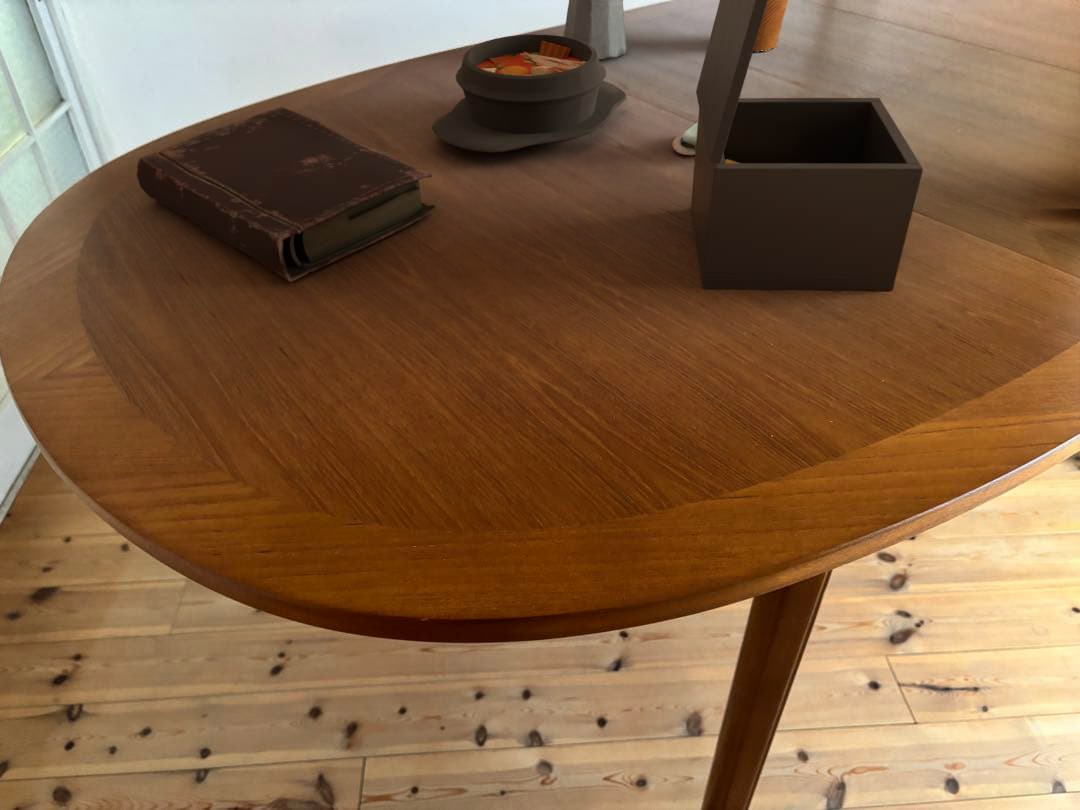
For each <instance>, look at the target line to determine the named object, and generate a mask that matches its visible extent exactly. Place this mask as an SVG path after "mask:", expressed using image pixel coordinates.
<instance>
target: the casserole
mask: <svg viewBox="0 0 1080 810" xmlns="http://www.w3.org/2000/svg"><path fill="white" fill-rule="evenodd" d="M606 76H607V70H606V68H605V66H604V65H603V64H602V63H601V61H600V59H599V58H598V55H597V52H596V50H595V49H594V48H593V47H592V46H591V45H589V44H587V43H585V42H583V41H580V40H577V39H573V38H569V37H564V35H563V36H562V35H554V34H535V33H534V34H530V33H529V34H518V35H516V34H515V35H509V36H502V37H497V38H493V39H490V40H489V39H488V40H486V41H483V42H481V43H478V44H476V45H474V46H472V47H470V48H469V49H468V50H466V52H465V53H464V54H463V58H462V62H461V66H460V67H459V68H458V70H457V71H456V74H455V82H456V83H457V84H458V86H459V87H460V88H461V89H462V91H463V96H464V97H463V98H461V99H460V100H459V102H457V104H455V105H454V107H452V109H451V110H450V111H448V112H447V113H444V115H441V116H440V117H439V118H437V120H435V121H434V122H433V124H432V126H431V130H432V132H433V134H434V135H435V136H437V137H438V138H439V140H442V141H443V142H445V143H447V144H449V145H451V146H455V147H458V148H461V149H464V150H470V151H475V152H480V153H489V154H497V153H507V152H512V151H517V150H520V149H524V148H527V147H532V146H538V145H547V144H553V143H560V142H565V141H570V140H573V139H577V138H581V137H583V136H586V135H588V134H590V133H593V132H595V131H597V130H598V129H601V127H603V126H604V125H606V123H608V122H609V120H610V119H611V117H612V115H613V114H614V112H615V110H616V109H618V107H619V106H621V105H622V103H624V102H625V101H626V100H627V93H625V92H624V91H623V89H621V88H620V87H619V86H616V85H614V84H613V83H610V82H607V81H604V80H605V78H606Z"/></svg>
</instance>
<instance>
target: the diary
mask: <svg viewBox="0 0 1080 810" xmlns="http://www.w3.org/2000/svg"><path fill="white" fill-rule="evenodd" d="M432 177H433V174H432V173H430V172H428V171H425V170H424V169H421V168H418V167H416V166H414V165H411V164H409V163H407V162H404V161H402V160H399V159H398V158H394V157H392V156H390V155H388V154H385V153H383V152H381V151H379V150H376V149H374V148H372V147H370V146H367V145H364V144H362V143H360V142H357V141H355V140H353V139H351V138H349V137H347V136H346V135H344V134H342V133H340V132H338V131H336V130H334V129H332V128H331V127H329V126H327V125H325V124H323V123H321V122H319V121H317V120H315V119H312V118H311V117H308V116H305V115H303V114H301V113H298V112H295V111H293V110H291V109H288V108H287V107H283V106H280V107H276V108H274V109H270V110H268V111H264V112H261V113H258V114H255V115H253V116H249V117H246V118H243V119H240V120H237V121H235V122H231V123H228V124H225V125H222V126H220V127H216V128H213V129H210V130H208V131H206V132H203V133H200V134H198V135H196V136H193V137H191V138H188V139H186V140H183V141H180V142H177V143H175V144H173V145H171V146H168V147H166V148H164V149H161V150H159V151H158V152H153V153H150V154H148V155H144V156H142V157H139V158H138V161H137V165H136V178H137V181H138V184H139V187H140V188H141V189H142V191H143V192H144V193H145V194H146V196H148V197H149V198H150V199H152V200H154V201H155V202H157V203H159V204H161V205H163V206H165V207H166V208H168V209H171V211H174V212H176V213H177V214H179V215H181V216H183V217H184V218H185V219H187V220H188V221H191V222H192V223H194V224H195V225H197V226H198V227H200V228H201V229H202V230H204V231H206V232H207V233H208V234H210V235H212V236H213V237H214V238H216V239H219V240H220V241H222V242H224V243H225V244H228V245H230V246H232V247H233V248H234V249H237V250H239V251H241V252H243V253H244V254H246V255H248V256H249V257H251V258H252V259H254V260H256V261H257V262H259V263H260V264H262V265H263V266H265V267H266V268H267V269H269V270H270V271H272V272H273V273H275V274H276V275H278V276H280V277H281V278H283V279H285V280H286V281H288V282H290V283H293V282H294V281H296V280H298V279H300V278H302V277H305V276H306V275H308V274H309V272H310V273H314V272H315V271H316V270H319V269H321V268H323V267H325V266H328V265H330V264H332V263H334V262H336V261H338V260H340V259H343V258H345V257H347V256H349V255H351V254H353V253H355V252H357V251H359V250H362V249H364V248H366V247H367V246H370V245H372V244H375V243H376V242H378V241H380V240H383V239H384V238H387V237H389V236H391V235H393V234H395V233H398V232H399V231H402V230H403V229H405V228H407V227H409V226H410V225H412V224H414V223H416V222H418V221H420V220H422V219H424V218H425V217H427V216H429V215H430V214H431V213H432V212H433V210H435V208H436V205H435V204H431V205H428V204H426V203H423V202H422V198H421V189H420V181H421V180H423V179H426V178H427V179H428V178H432Z"/></svg>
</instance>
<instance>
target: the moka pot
mask: <svg viewBox="0 0 1080 810" xmlns="http://www.w3.org/2000/svg"><path fill="white" fill-rule="evenodd" d="M567 5H568V6H567V11H566V18H565V26H564V31H563V32H564V33H563V37H569V38H573V39H577V40H580V41H583V42H585V43H587V44H589V45H591V46H592V47H593V48H594V49H595V50H596V52H597V55H598V58H599V60H605V59H613V58H618V57H620V56H623V55H624V54H625V53H626V51H625V49H626V50H627V40H626V39H627V38H626V25H625V10H624V9H625V8H624V0H568V4H567ZM622 54H623V55H622Z"/></svg>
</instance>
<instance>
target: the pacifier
mask: <svg viewBox="0 0 1080 810" xmlns="http://www.w3.org/2000/svg"><path fill="white" fill-rule="evenodd" d="M697 128H698V121H697V122H696V123H694V124H693V125H692V126H691V127H689V128H688V129H687V130H686V131H685V132H682V133H680V134H678V135H677V136H676V137H675V138H674V139H673V141H672V148H673V150H674V151H675V152H676V153H678V154H680V155H684V156H695V152H696V140H697ZM683 142H685V143H687V144H689V145H692V146H693V148H692V147H691V148H689V147H685V146H683V145H682V144H683Z"/></svg>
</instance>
